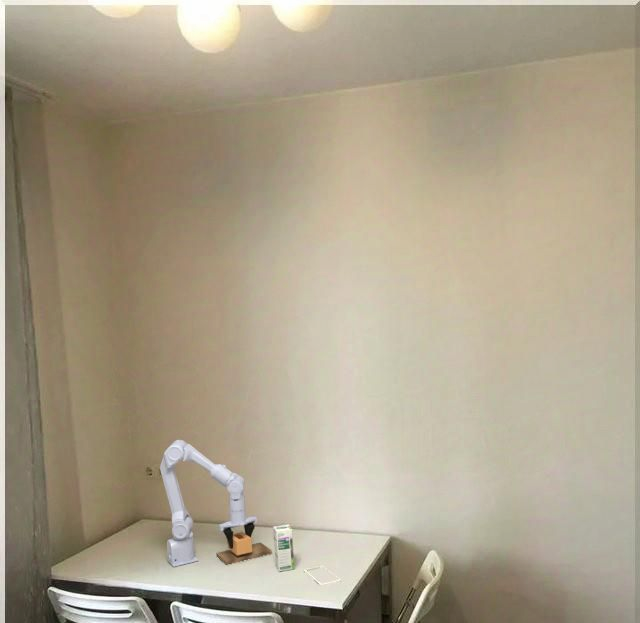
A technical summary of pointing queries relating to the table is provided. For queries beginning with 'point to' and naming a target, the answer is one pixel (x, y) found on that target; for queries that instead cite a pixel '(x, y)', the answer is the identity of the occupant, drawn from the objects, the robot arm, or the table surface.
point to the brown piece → (231, 557)
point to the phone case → (326, 570)
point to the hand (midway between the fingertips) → (239, 545)
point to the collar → (241, 543)
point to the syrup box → (283, 547)
